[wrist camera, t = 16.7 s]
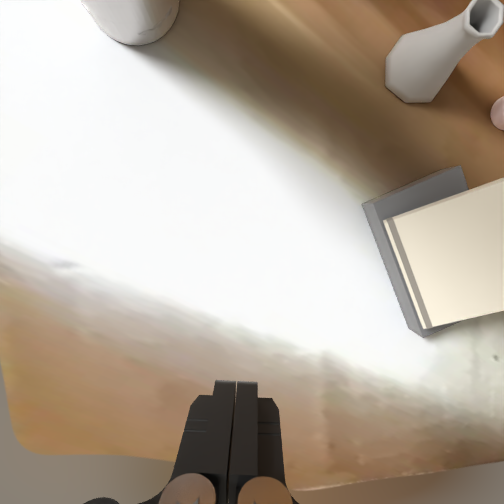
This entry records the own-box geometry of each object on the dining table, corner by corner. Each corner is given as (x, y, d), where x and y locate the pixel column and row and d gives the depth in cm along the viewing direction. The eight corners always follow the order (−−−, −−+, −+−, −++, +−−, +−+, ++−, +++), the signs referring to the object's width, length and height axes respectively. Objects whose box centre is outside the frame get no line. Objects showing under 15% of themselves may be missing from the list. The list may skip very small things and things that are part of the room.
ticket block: (361, 204, 37) (373, 203, 34) (442, 169, 37) (460, 165, 34) (408, 328, 39) (423, 337, 36) (484, 294, 39) (505, 301, 36)
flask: (373, 92, 36) (428, 46, 26) (395, 25, 35) (460, -50, 25) (433, 113, 36) (509, 76, 26) (456, 47, 36) (543, -16, 26)
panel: (384, 222, 32) (583, 152, 27) (382, 220, 34) (571, 152, 28) (423, 329, 34) (620, 284, 28) (420, 322, 35) (606, 278, 30)
